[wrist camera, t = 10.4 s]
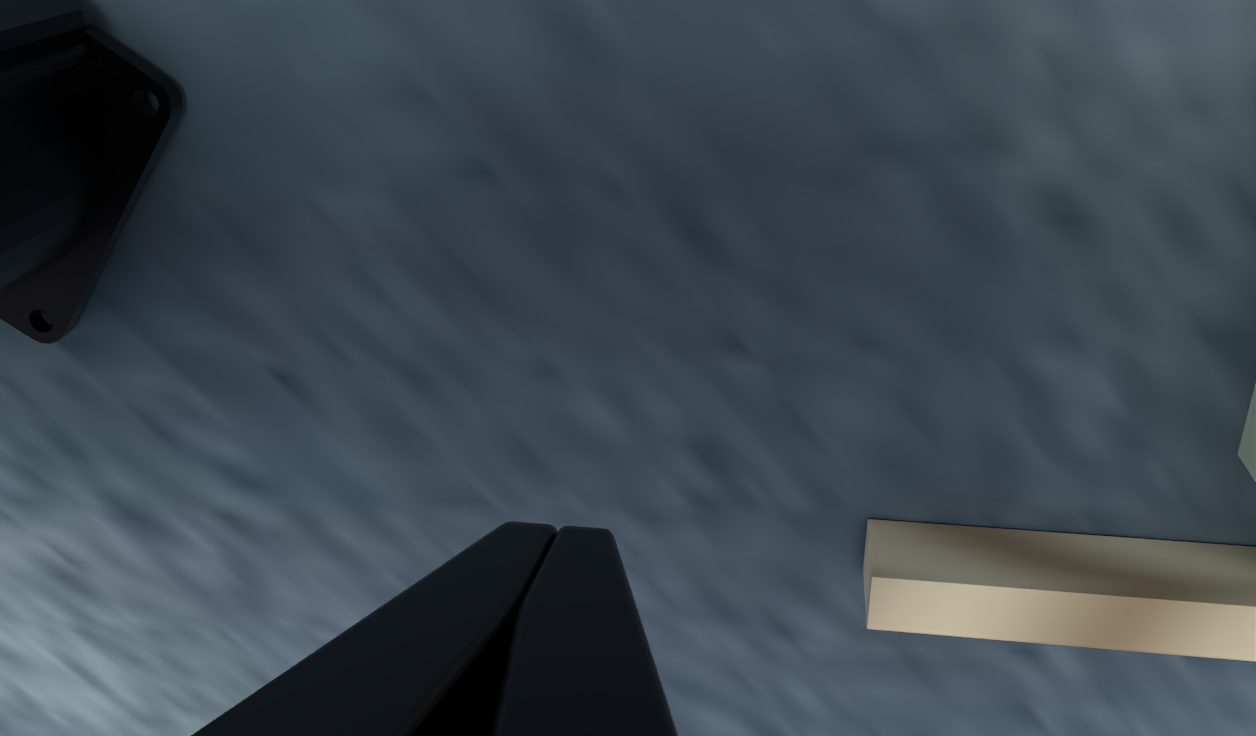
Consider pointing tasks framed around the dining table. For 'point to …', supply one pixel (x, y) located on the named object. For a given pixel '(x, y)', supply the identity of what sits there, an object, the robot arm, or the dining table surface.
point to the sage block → (1249, 439)
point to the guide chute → (1061, 589)
